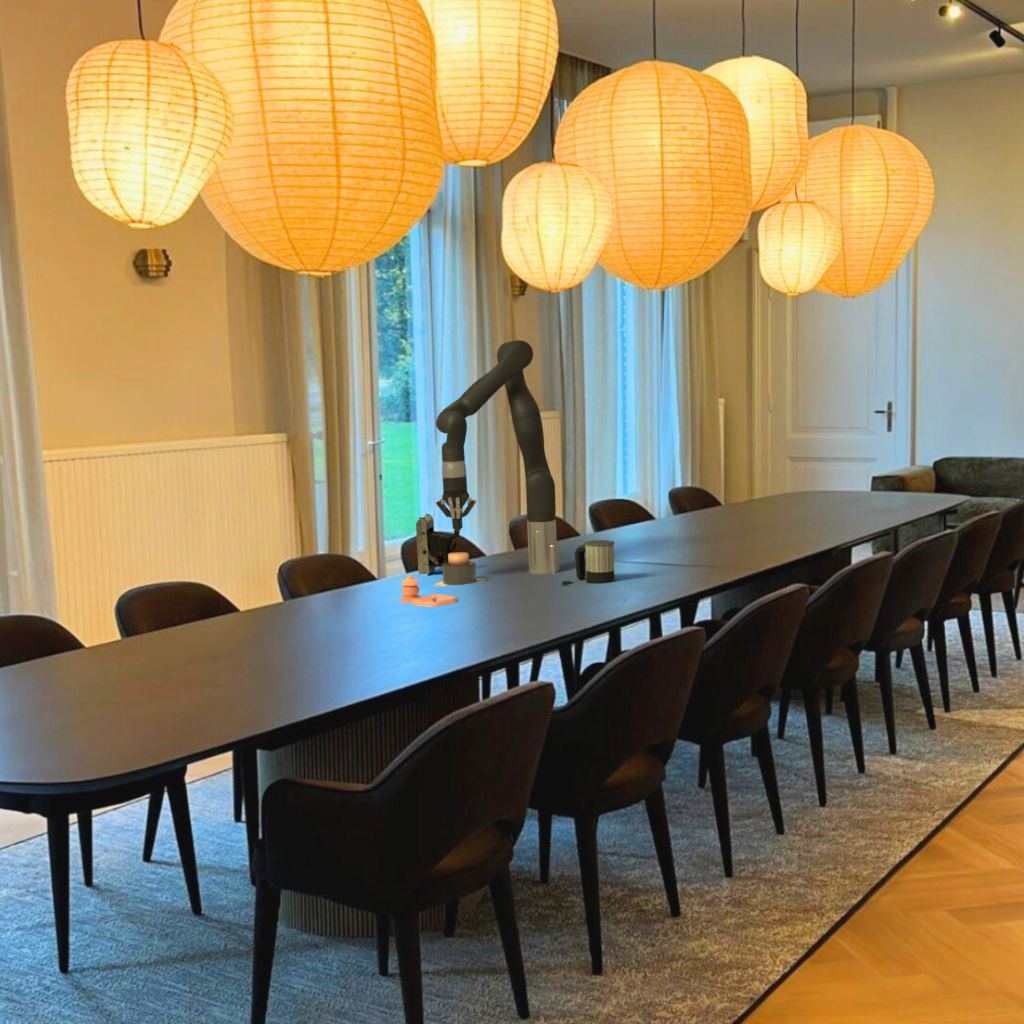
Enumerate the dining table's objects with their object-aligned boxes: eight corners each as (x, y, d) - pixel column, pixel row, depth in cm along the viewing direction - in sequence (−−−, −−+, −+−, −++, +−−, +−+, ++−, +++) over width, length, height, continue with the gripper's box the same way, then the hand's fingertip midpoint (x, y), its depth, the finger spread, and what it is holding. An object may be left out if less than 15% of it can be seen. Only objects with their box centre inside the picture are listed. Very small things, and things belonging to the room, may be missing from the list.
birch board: (487, 582, 419) (487, 578, 419) (474, 591, 405) (474, 586, 405) (445, 582, 423) (445, 577, 422) (431, 590, 409) (431, 586, 409)
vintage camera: (463, 577, 430) (460, 517, 428) (418, 577, 433) (414, 517, 431) (470, 572, 440) (467, 513, 437) (425, 572, 443) (422, 513, 440)
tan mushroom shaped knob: (472, 577, 416) (471, 552, 415) (466, 581, 410) (464, 555, 409) (453, 576, 418) (451, 552, 417) (446, 580, 412) (445, 555, 411)
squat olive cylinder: (479, 579, 417) (478, 560, 416) (469, 585, 408) (469, 566, 407) (449, 578, 420) (448, 560, 419) (439, 584, 411) (438, 565, 410)
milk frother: (621, 588, 402) (619, 540, 400) (600, 598, 388) (598, 548, 386) (578, 585, 408) (576, 538, 406) (556, 595, 394) (554, 546, 392)
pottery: (458, 611, 378) (456, 577, 377) (434, 617, 371) (432, 583, 370) (416, 604, 391) (414, 571, 389) (392, 610, 384) (390, 576, 382)
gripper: (478, 473, 411) (481, 528, 413) (438, 474, 415) (441, 528, 417) (471, 476, 404) (474, 532, 406) (430, 477, 407) (433, 532, 410)
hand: (457, 530), depth 411 cm, fingers closed
